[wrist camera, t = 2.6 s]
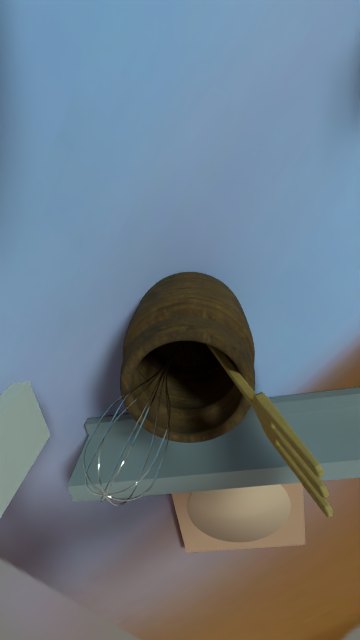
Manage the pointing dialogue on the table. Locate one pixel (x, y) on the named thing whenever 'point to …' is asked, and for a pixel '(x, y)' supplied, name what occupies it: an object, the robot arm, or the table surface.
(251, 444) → the low wall
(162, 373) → the utensil holder
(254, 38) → the table surface
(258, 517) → the coaster
